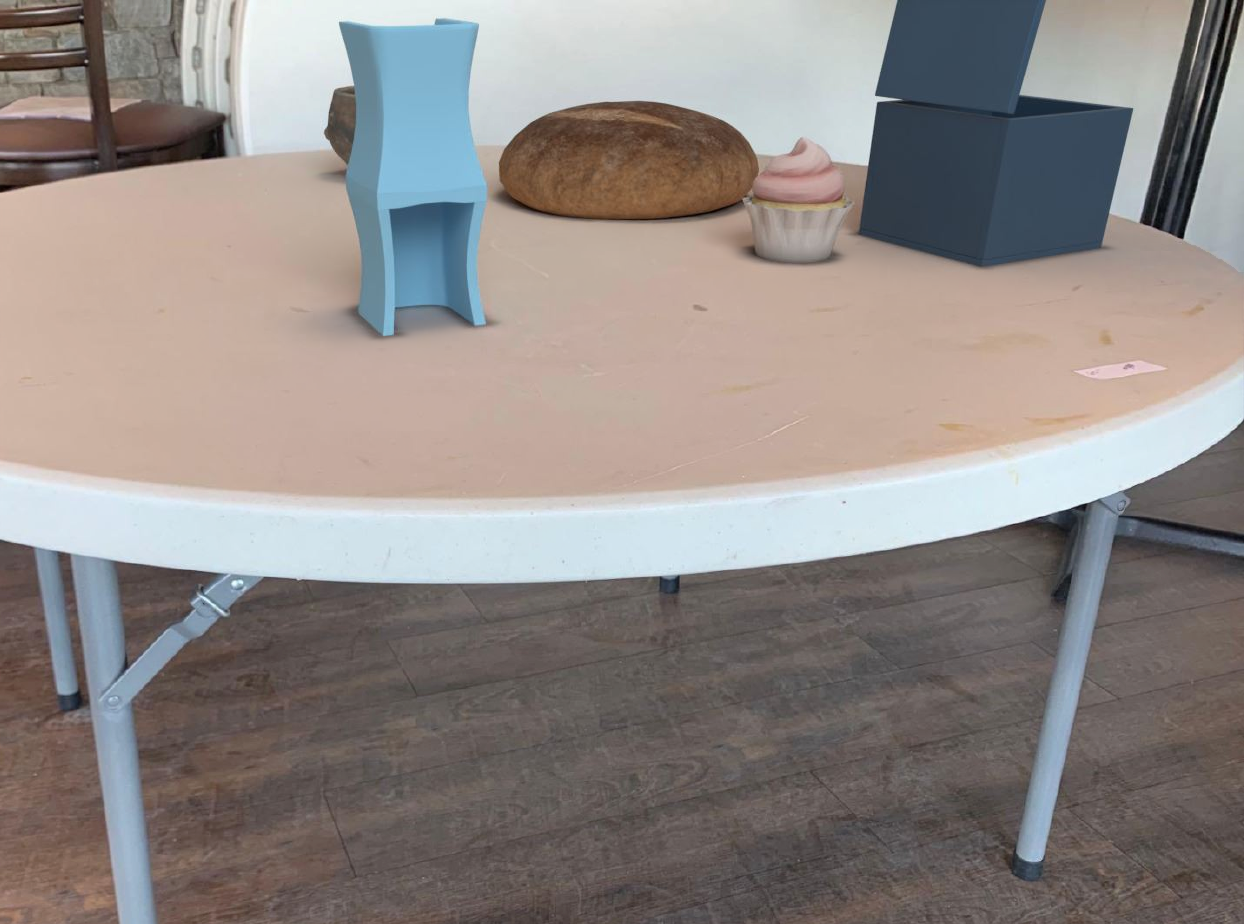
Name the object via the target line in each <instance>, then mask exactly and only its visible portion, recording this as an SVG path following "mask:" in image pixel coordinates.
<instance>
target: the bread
mask: <svg viewBox="0 0 1244 924" xmlns="http://www.w3.org/2000/svg"><path fill="white" fill-rule="evenodd" d="M759 167H760V166H759V162H758V157H757V155H756V152H755V150H754V149H753V147H752V145H751V143H750V142H749V141H748V139H747V138H746V137H745V136H744V134H743V133H742V132H741V131H739V130H738V129H737V128H735V126H733V125H732V124H730V123H728V122H727V121H725V120H722V119H720V118H718V117H716V116H713V115H710V114H708V113H704V112H702V111H698V110H694V109H690V108H686V107H682V106H679V105H675V104H671V103H665V102H657V101H647V100H624V101H622V100H621V101H599V102H591V103H585V104H580V105H576V106H570V107H567V108H562V109H559V110H556V111H552V112H549V113H546V114H545V115H542V116H540V117H538V118H536V119H534V120H532V121H531V122H529V123H528V124H527V125H526V126H524V127H523V128H522V129H521V130H520V131H519V132H517V134H515V135H514V136H513V138H512V139H511V140H510V141H509V143H508V144H507V145H506V146H505V147H504V149H503V150H502V153H501V156H500V158H499V161H498V175H499V182H500V184H501V185H502V186H503V188H504V190H505V191H506V193H508V195H509V196H511V197H512V198H513V199H515V200H516V201H517V202H519V203H521V204H522V205H524V206H525V207H526V206H527V207H528V208H530V209H533V210H535V211H538V212H542V213H546V214H549V215H555V216H560V217H569V218H578V219H592V220H594V219H595V220H648V219H649V220H650V219H651V220H652V219H653V220H654V219H668V218H679V217H687V216H694V215H700V214H706V213H709V212H713V211H717V210H719V209H722V208H725V207H728V206H732V205H734V204H736V203H738V202H740V201H743V200H742V198H746V196H747V195H748V194H749V192H750V191H751V190H752V185H753V181H754V180H755V178H756V177H757V176H758V175H759V173H760V168H759Z"/></svg>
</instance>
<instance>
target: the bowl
mask: <svg viewBox="0 0 1244 924" xmlns="http://www.w3.org/2000/svg"><path fill="white" fill-rule="evenodd" d="M355 126H356V98H355V89H354V85H348V86H341V87H337V88H335V89H334V90H333V93H332V97H331V101H330V104H329V108H328V117H327V126H326V127H325V129H324V131H323V135H324V137H325V139H326V140H327V141H329V144H330V146H331V148H332V149H333V151H334V152H335V154H336V155H337V156H338V157H339V158H340V159H341V160H342V162H344V163H345V164H346V165H347V166H348V164H349V160H350V156H351V151H352V146H353V141H354V134H355Z"/></svg>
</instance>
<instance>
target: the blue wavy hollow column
mask: <svg viewBox="0 0 1244 924" xmlns="http://www.w3.org/2000/svg"><path fill="white" fill-rule="evenodd" d="M338 26H339V30H340V33H341V37H342V40H343V44H344V48H345V50H346V55H347V58H348V62H349V66H350V71H351V77H352V81H353V86H354V89H355V98H356V126H355V134H354V141H353V146H352V151H351V156H350V160H349V164H348V165H347V168H346V173H345V190H346V194H347V196H348V200H349V204H350V208H351V211H352V215H353V217H354V218H353V219H354V223H355V228H356V231H357V237H358V242H359V249H360V250H359V251H360V257H361V259H360V260H361V276H360V277H361V280H360V290H359V291H360V292H359V300H358V309H357V313H358V314H359V316H361V317H362V318H363V319H364V320H365V321H366V322H367V323H368V324H369V325H370V326H372V327H373V329H375V330H376V331H377V333H379V334H380V335H381V336H383V337H386V336H394V335H395V309H396V308H404V307H405V308H406V307H414V306H429V305H430V306H432V305H433V306H442V307H443V306H444V307H448V308H450V309H452V310H453V311H454V312H455V313H457V314H459V315H460V316H461V317H462V318H464V319H465V320H467V321H468V322H469V323H471V324H472V325H473V326H482V325H487V322H486V317H485V313H484V309H483V305H482V300H481V294H480V293H481V292H480V288H479V280H478V278H479V277H478V253H479V243H480V235H481V230H482V225H483V219H484V214H485V210H486V206H487V202H488V184H487V181H486V178H485V175H484V172H483V169H482V166H481V163H480V160H479V156H478V153H477V150H476V145H475V142H474V137H473V132H472V127H471V126H472V125H471V119H470V118H471V117H470V112H469V111H470V110H469V104H470V103H469V102H470V101H469V100H470V99H469V97H470V96H469V95H470V81H471V73H472V65H473V60H474V55H475V48H476V44H477V39H478V34H479V27H480V24H479V22H473V21H467V20H461V19H453V18H446V17H445V18H444V17H443V18H435V20H434V24H428V25H427V24H425V25H424V24H423V25H370V24H365V23H360V22H355V21H354V22H353V21H349V20H347V21H346V20H344V21H338Z"/></svg>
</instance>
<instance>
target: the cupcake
mask: <svg viewBox="0 0 1244 924" xmlns="http://www.w3.org/2000/svg"><path fill="white" fill-rule="evenodd" d="M845 186H846V184H845V178H844V176H843V173H842V171H841V170H840V169H839V168H838V167H836V166H835V165H833V161H832V157H831V156H830V154H829V153H828V151H827V150H825V148H824V147H823V146H822V145H820V144H818V143H816V142H814V141H812V140H810V139H808V138H807V137H805V136H801V137H800V138H799V139H798V140H797V141H796V142H795V145H794V147H793V148H792V150H791V151H790V152H789V153H781V154H778V155H776V156H774V157H773V158H772V159H771V160H770V161H769V162H768V163H767V165H766V167H765V168H764V169H763V170H762V172H761V173H760V174H758V176H757V177H756V178H755V180H754V181H753V185H752V189H751V190H752V193H751V194H750V196H748V197H744V198H742V200H741V201H742V202H743V205H744V207H745V209H746V212H747V214H748V217H749V219H750V225H751V231H752V237H753V245H754V251H755V254H756V256H758V257H760V258H762V259H764V260H768V261H772V262H778V263H779V262H780V263H791V264H797V263H798V264H799V263H800V264H804V263H805V264H807V263H808V264H809V263H817V262H822V261H826V260H827V259H829V258H830V256H831V255H832V252H833V250H834V249H833V248H834V246H835V243H836V240H837V238H838V236H839V234H840V231H841V228H842V226H843V223H844V222H845V220H846V218H847V217H848V215H849V214H850V212H851V210H852V209H853V207H854V205H855V202H854V201H852V200H849V198H848V197H846V196H844V193H845V190H846V187H845Z"/></svg>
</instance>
